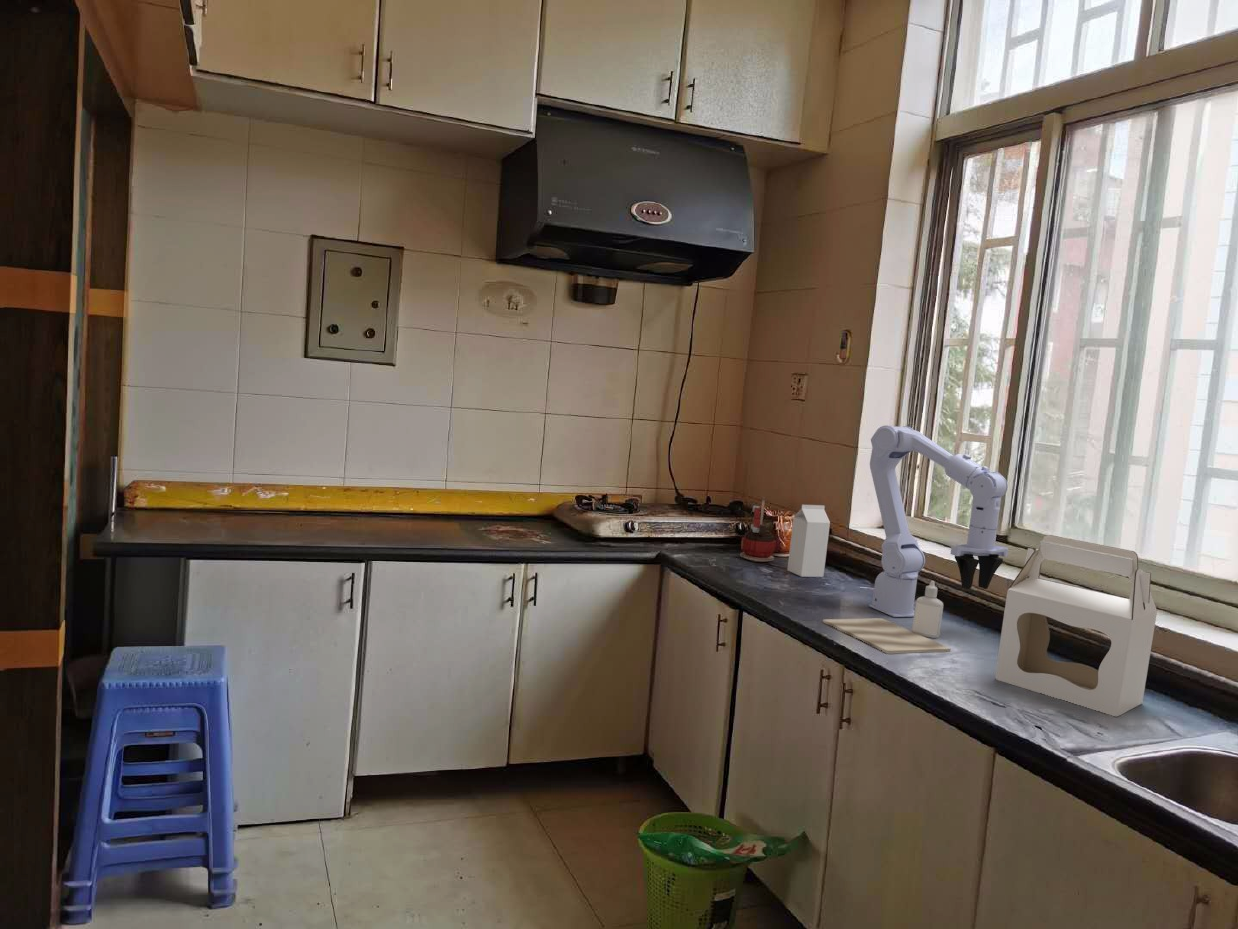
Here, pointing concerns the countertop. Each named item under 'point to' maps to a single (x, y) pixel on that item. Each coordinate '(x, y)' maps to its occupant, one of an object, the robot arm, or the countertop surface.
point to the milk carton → (809, 541)
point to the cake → (758, 539)
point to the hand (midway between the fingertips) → (974, 587)
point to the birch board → (886, 635)
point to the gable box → (1078, 607)
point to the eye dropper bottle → (928, 613)
